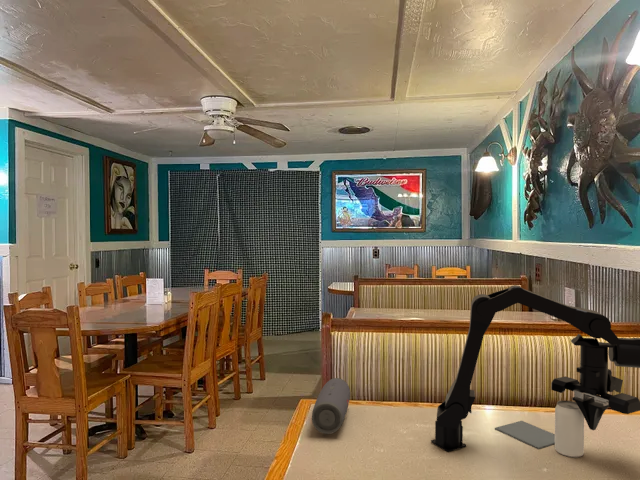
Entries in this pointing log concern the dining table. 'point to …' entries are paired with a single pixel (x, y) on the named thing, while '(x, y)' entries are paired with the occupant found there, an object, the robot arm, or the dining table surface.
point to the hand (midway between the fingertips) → (592, 429)
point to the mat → (528, 434)
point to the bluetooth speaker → (331, 406)
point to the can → (569, 429)
